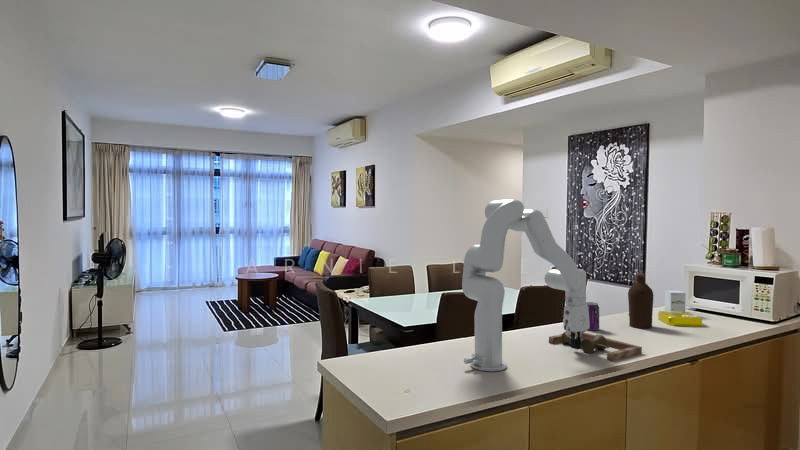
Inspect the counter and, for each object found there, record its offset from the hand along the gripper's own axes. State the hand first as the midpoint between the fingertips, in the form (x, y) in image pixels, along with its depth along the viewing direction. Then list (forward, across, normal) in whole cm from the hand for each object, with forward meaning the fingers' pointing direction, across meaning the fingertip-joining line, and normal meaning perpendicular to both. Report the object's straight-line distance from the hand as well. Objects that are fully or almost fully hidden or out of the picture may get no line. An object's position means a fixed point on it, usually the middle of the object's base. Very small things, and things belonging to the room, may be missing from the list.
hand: (575, 348), depth 176 cm
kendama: (+2, +7, +1) cm, 7 cm away
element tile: (+2, +82, +6) cm, 83 cm away
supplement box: (+2, +97, +16) cm, 99 cm away
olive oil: (+2, +59, +11) cm, 60 cm away
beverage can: (+2, +35, +20) cm, 41 cm away
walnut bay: (+1, +10, 0) cm, 10 cm away
